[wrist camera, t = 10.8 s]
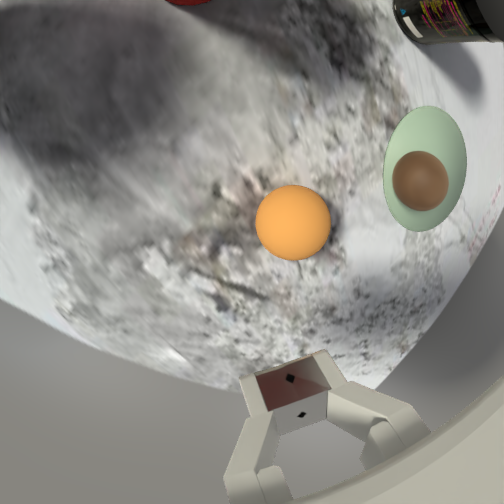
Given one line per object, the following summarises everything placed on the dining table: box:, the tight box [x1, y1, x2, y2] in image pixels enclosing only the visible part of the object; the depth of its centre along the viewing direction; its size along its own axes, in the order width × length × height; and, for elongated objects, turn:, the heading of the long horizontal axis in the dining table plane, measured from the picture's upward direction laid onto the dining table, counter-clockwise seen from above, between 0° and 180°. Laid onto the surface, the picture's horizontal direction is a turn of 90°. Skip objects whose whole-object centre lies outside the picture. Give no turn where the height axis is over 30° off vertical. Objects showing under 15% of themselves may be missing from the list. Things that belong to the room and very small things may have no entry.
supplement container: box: [393, 0, 504, 45], centre depth 14 cm, size 7×7×10 cm
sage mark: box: [383, 106, 467, 232], centre depth 27 cm, size 14×14×1 cm
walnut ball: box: [392, 151, 449, 211], centre depth 23 cm, size 6×6×6 cm
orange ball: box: [256, 185, 331, 260], centre depth 22 cm, size 6×6×6 cm
